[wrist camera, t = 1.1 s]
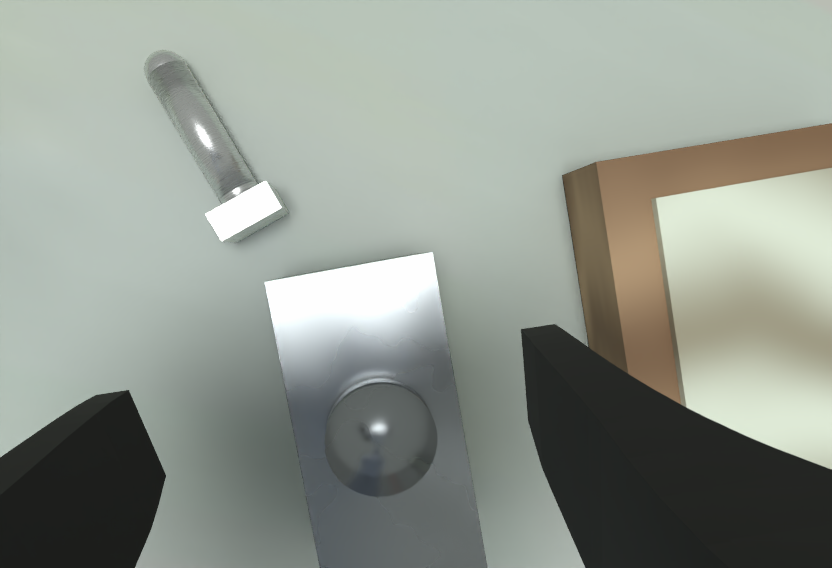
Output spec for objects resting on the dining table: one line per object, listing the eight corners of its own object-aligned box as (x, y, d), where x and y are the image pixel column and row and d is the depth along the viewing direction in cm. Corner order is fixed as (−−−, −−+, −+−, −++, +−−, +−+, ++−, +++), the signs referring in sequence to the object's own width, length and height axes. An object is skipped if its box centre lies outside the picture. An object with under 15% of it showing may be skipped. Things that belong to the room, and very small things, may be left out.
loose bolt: (289, 213, 21) (281, 207, 18) (235, 243, 20) (221, 241, 18) (190, 46, 20) (170, 20, 18) (134, 76, 20) (107, 53, 18)
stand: (865, 468, 24) (948, 501, 20) (617, 526, 22) (662, 572, 19) (823, 132, 23) (902, 111, 19) (562, 175, 22) (600, 160, 18)
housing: (460, 508, 22) (495, 588, 17) (332, 536, 21) (326, 629, 16) (416, 253, 21) (437, 251, 16) (283, 277, 21) (258, 283, 15)
